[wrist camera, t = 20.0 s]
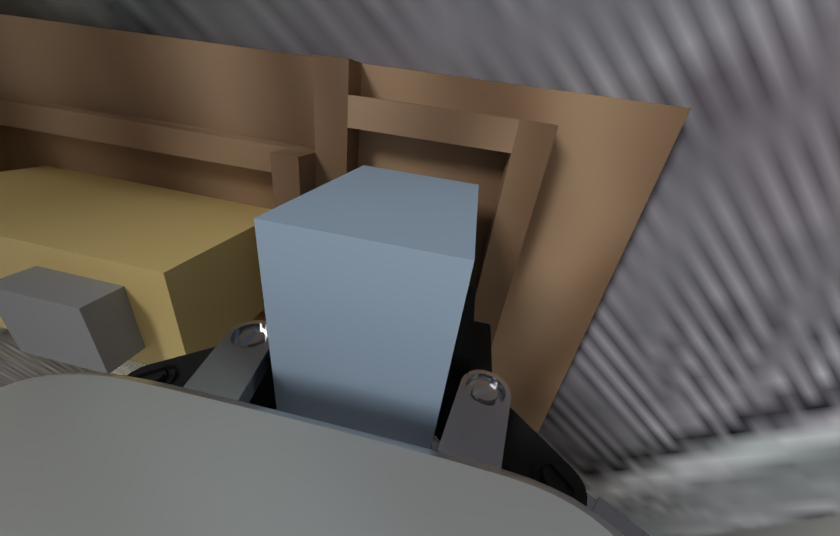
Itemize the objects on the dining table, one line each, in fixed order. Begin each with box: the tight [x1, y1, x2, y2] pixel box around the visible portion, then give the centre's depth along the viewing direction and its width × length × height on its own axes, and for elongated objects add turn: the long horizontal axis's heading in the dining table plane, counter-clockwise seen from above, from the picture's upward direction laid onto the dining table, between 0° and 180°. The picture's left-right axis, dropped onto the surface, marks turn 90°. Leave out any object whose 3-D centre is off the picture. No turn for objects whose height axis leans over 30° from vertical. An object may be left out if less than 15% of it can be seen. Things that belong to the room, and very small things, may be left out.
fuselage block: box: [0, 165, 272, 374], centre depth 13 cm, size 12×4×7 cm, turn 82°
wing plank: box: [254, 165, 479, 449], centre depth 11 cm, size 4×10×6 cm, turn 172°
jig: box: [0, 14, 691, 432], centre depth 14 cm, size 28×16×3 cm, turn 82°
